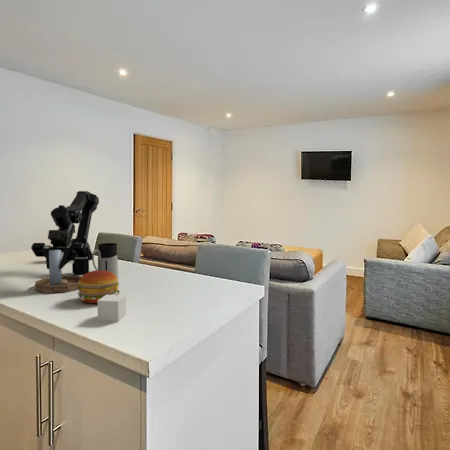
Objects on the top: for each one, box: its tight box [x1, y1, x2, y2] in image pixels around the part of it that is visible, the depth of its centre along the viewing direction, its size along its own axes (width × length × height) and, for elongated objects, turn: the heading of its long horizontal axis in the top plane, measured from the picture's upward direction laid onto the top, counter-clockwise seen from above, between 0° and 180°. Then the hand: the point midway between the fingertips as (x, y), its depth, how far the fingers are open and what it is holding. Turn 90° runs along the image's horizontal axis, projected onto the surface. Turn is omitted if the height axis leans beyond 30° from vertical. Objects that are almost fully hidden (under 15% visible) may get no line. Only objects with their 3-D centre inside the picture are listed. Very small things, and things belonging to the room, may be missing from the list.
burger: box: [77, 269, 121, 304], centre depth 117 cm, size 13×14×10 cm
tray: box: [34, 274, 82, 294], centre depth 133 cm, size 17×17×2 cm
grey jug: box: [91, 242, 120, 280], centre depth 142 cm, size 9×14×15 cm, turn 164°
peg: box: [48, 250, 63, 286], centre depth 127 cm, size 4×4×13 cm
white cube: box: [97, 294, 127, 323], centre depth 100 cm, size 6×6×6 cm
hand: (53, 268), depth 126 cm, fingers closed on peg, 4 cm apart
